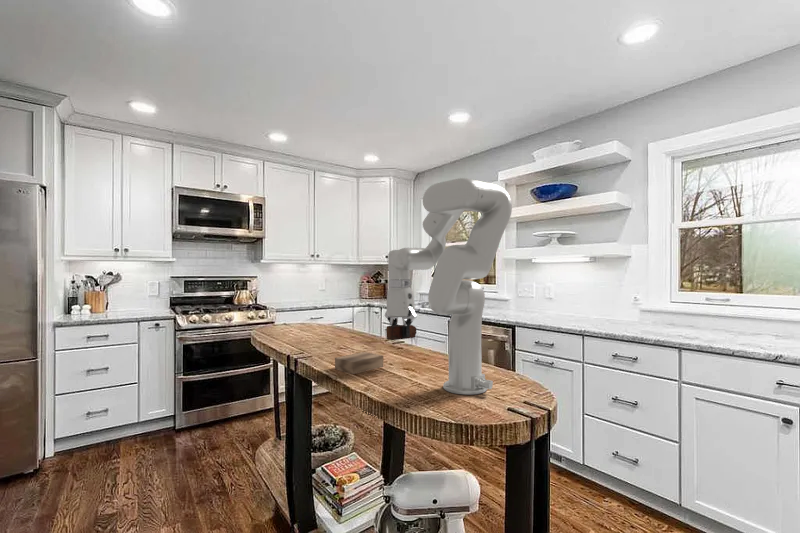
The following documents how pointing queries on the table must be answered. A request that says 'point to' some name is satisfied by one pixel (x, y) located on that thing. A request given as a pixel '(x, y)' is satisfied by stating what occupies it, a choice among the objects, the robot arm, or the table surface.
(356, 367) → the base block
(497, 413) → the table surface
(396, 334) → the brick
